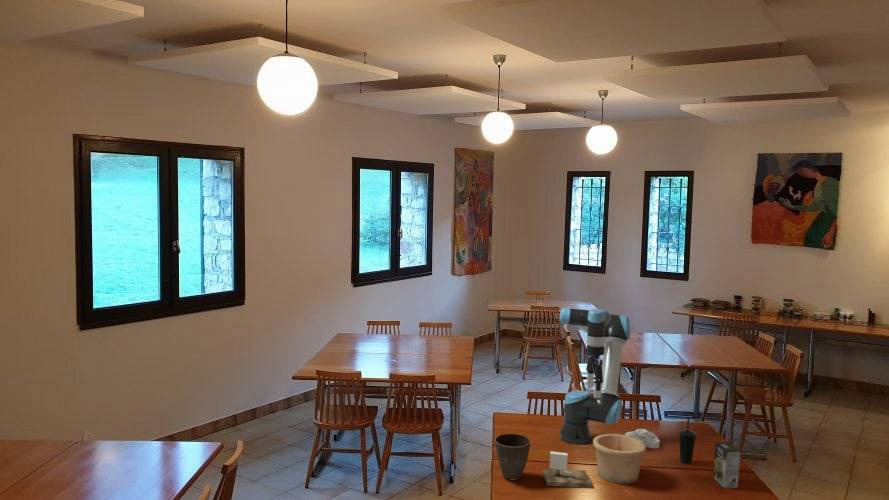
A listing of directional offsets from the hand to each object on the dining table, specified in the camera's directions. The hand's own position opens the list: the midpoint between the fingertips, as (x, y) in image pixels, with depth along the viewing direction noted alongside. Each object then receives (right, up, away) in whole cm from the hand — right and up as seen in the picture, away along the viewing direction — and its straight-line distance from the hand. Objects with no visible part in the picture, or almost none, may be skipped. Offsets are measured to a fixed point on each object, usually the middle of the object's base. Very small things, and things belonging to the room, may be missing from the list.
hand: (593, 392), depth 285 cm
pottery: (+9, -34, -8) cm, 36 cm away
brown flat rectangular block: (-15, -34, -14) cm, 39 cm away
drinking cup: (+44, -33, +8) cm, 56 cm away
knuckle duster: (+32, -32, +33) cm, 56 cm away
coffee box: (+52, -35, -13) cm, 65 cm away
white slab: (-16, -31, -15) cm, 38 cm away
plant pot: (-37, -33, -12) cm, 51 cm away
